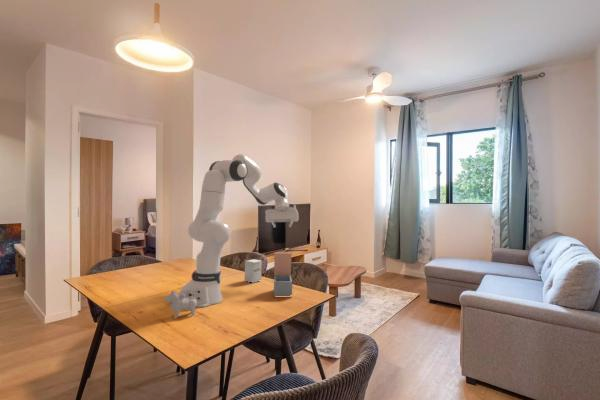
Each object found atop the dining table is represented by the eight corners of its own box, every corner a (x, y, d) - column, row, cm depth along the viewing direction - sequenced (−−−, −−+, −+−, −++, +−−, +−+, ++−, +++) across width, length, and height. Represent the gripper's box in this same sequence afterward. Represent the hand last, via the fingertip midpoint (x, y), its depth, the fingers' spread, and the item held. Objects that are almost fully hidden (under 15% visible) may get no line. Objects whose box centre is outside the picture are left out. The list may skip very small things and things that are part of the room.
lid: (274, 253, 163) (274, 252, 164) (274, 275, 166) (274, 274, 167) (291, 253, 164) (291, 252, 165) (290, 275, 167) (290, 274, 168)
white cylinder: (252, 283, 177) (253, 262, 177) (244, 281, 182) (244, 260, 182) (261, 281, 183) (262, 260, 183) (253, 279, 188) (253, 258, 188)
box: (274, 297, 153) (274, 281, 153) (273, 289, 166) (274, 275, 166) (291, 297, 154) (292, 281, 154) (290, 289, 167) (290, 275, 167)
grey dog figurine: (164, 315, 127) (164, 290, 127) (195, 311, 132) (196, 287, 132) (163, 320, 122) (164, 294, 122) (196, 316, 127) (197, 291, 127)
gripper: (264, 205, 185) (264, 224, 176) (298, 205, 186) (299, 223, 177) (265, 212, 190) (265, 230, 181) (297, 211, 191) (299, 229, 182)
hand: (282, 226), depth 179 cm, fingers open, 8 cm apart
